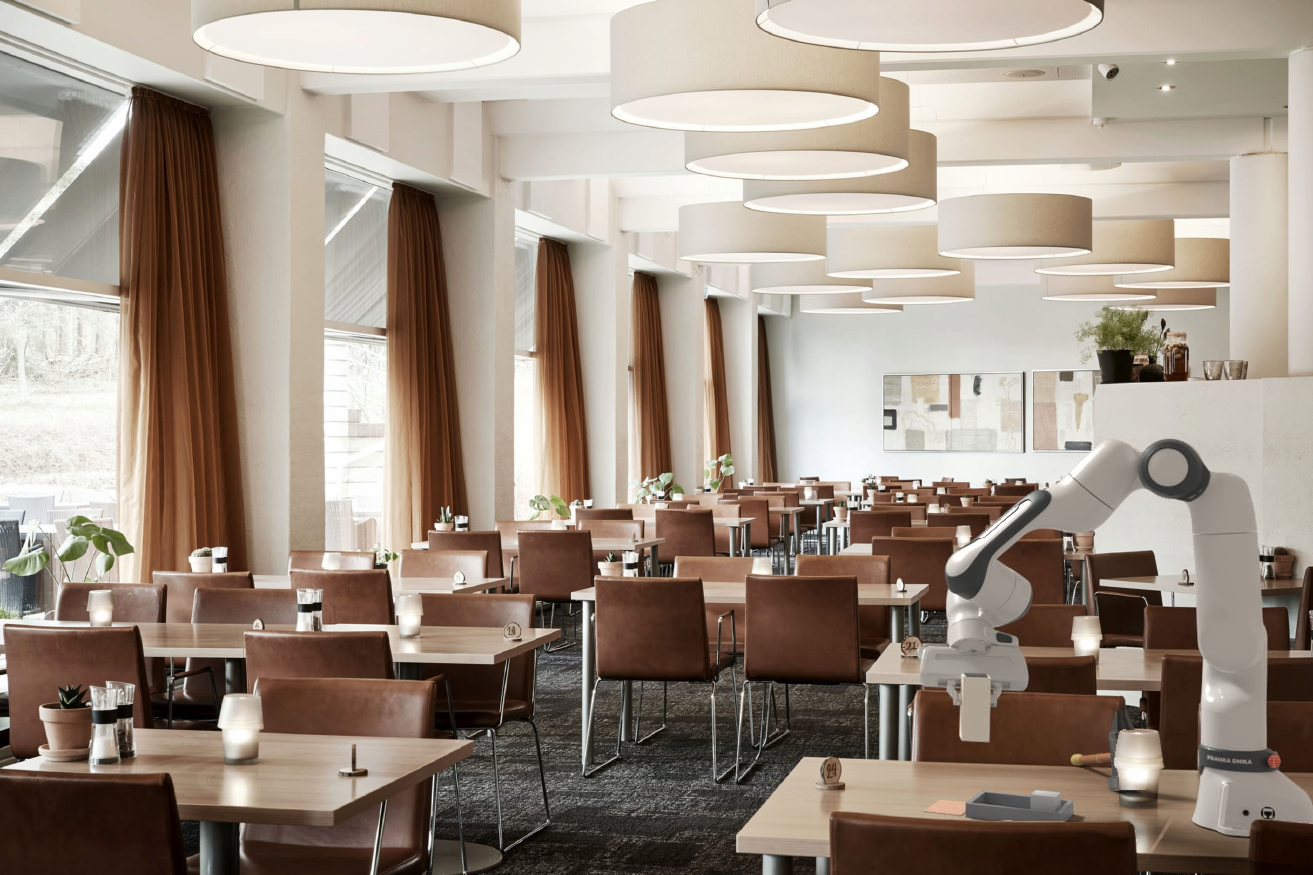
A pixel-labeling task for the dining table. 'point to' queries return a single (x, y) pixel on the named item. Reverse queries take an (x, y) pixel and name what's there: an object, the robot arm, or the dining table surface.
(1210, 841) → the dining table surface
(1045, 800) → the grey block
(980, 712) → the white box
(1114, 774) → the hammer
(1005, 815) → the parts tray
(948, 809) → the pad
